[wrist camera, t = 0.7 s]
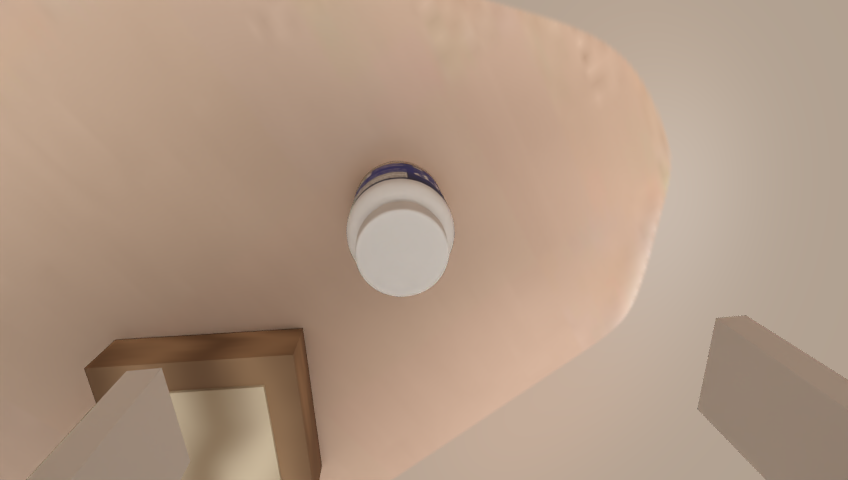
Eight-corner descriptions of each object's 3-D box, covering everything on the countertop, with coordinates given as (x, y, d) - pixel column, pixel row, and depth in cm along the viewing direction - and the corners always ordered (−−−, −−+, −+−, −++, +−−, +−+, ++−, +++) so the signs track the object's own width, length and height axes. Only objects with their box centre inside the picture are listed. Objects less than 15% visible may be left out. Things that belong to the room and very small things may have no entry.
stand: (158, 479, 32) (134, 520, 29) (115, 340, 28) (81, 370, 25) (321, 465, 32) (314, 504, 29) (302, 328, 28) (292, 356, 25)
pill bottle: (455, 220, 27) (484, 280, 18) (381, 257, 27) (377, 331, 19) (417, 143, 25) (431, 171, 17) (338, 184, 25) (314, 230, 17)
